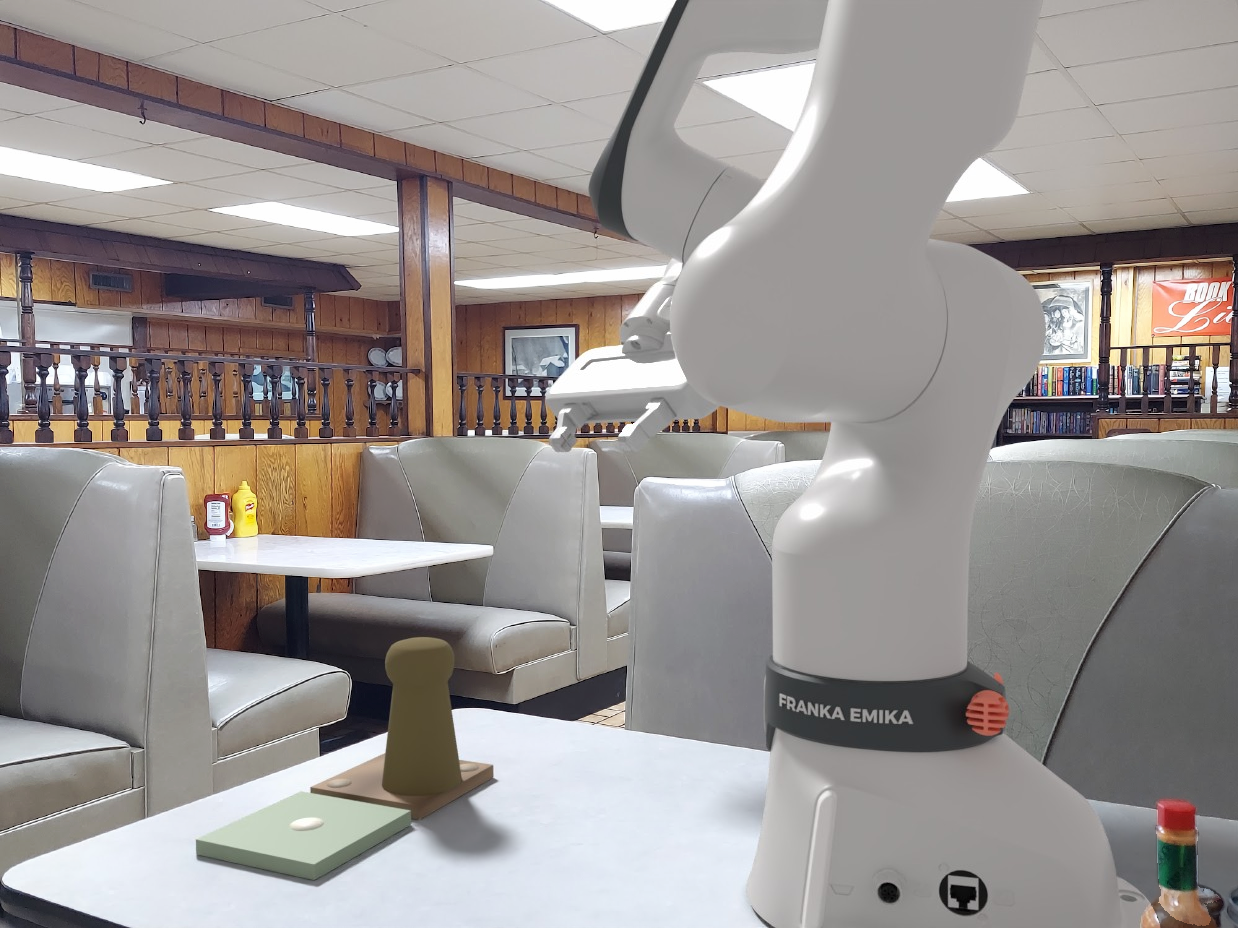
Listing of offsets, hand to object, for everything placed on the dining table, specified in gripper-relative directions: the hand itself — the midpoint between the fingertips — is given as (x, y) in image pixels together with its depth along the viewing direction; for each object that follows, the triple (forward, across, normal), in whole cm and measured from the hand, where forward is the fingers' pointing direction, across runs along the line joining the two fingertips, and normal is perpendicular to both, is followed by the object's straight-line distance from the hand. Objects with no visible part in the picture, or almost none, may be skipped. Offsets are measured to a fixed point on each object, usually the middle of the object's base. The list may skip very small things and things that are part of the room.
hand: (590, 447), depth 92 cm
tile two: (+31, -2, +6) cm, 32 cm away
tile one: (+39, +2, -1) cm, 39 cm away
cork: (+31, 0, +5) cm, 31 cm away
